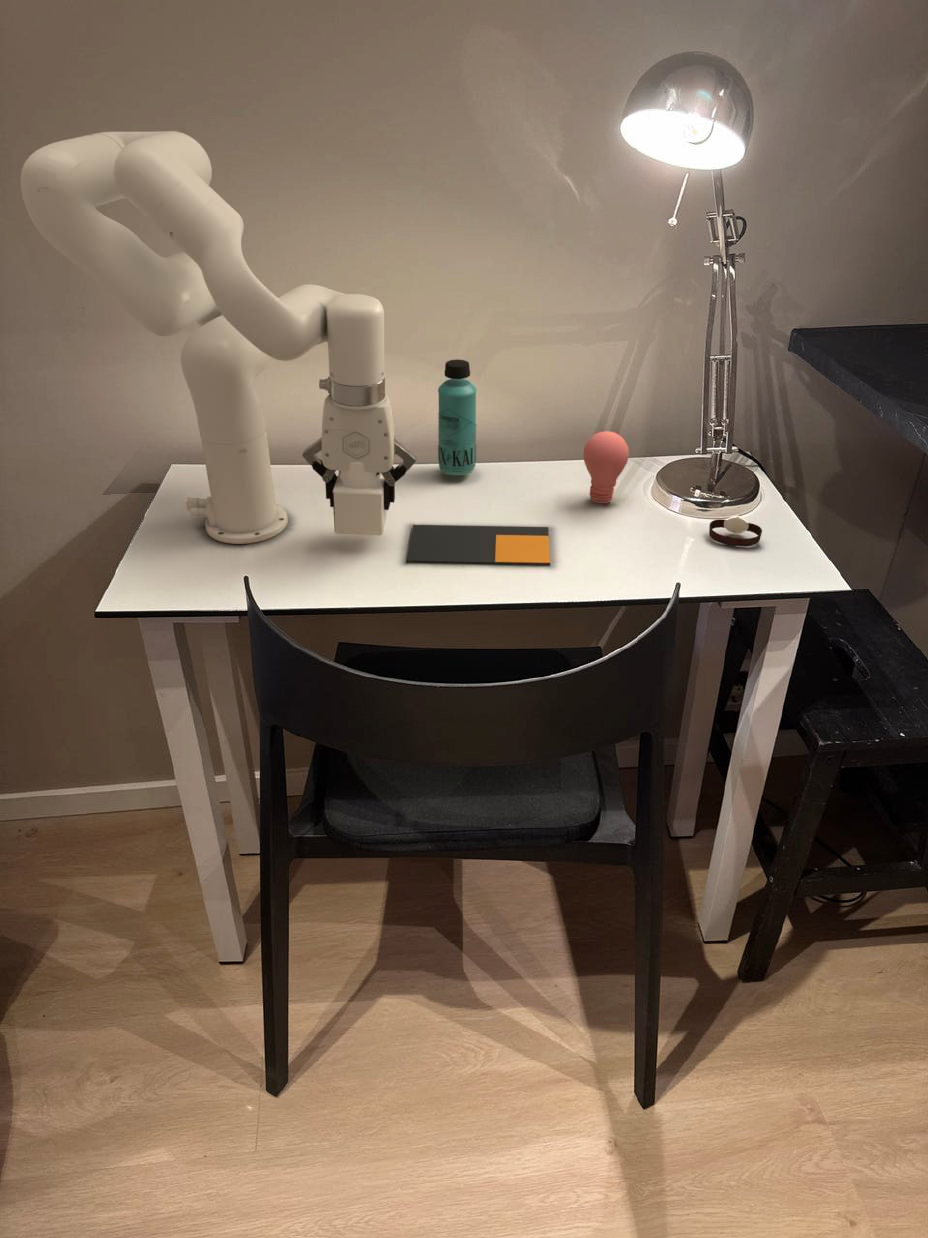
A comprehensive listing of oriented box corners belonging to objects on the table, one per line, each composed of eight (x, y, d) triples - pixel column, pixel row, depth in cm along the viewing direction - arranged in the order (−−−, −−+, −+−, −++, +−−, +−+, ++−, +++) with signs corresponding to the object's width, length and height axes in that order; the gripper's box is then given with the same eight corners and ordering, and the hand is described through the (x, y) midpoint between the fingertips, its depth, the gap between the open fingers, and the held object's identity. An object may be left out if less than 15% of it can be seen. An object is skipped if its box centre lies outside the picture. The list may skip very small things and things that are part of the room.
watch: (760, 536, 146) (764, 515, 144) (758, 551, 142) (763, 529, 140) (709, 529, 148) (712, 508, 145) (706, 544, 144) (709, 522, 142)
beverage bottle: (441, 466, 167) (439, 354, 156) (479, 468, 166) (479, 355, 155) (435, 483, 162) (432, 367, 150) (474, 485, 161) (474, 369, 150)
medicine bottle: (340, 511, 146) (337, 438, 139) (387, 513, 146) (386, 440, 139) (334, 534, 140) (330, 459, 133) (382, 536, 140) (381, 461, 133)
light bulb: (622, 514, 152) (629, 443, 145) (577, 510, 153) (582, 440, 146) (625, 494, 158) (632, 425, 151) (582, 490, 159) (587, 422, 152)
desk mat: (406, 562, 140) (406, 559, 139) (413, 526, 149) (412, 524, 148) (550, 565, 139) (550, 562, 139) (548, 529, 148) (548, 526, 148)
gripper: (289, 396, 128) (297, 513, 138) (418, 403, 128) (417, 519, 138) (299, 376, 134) (306, 489, 144) (423, 382, 134) (421, 495, 144)
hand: (360, 503), depth 141 cm, fingers closed on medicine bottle, 7 cm apart
